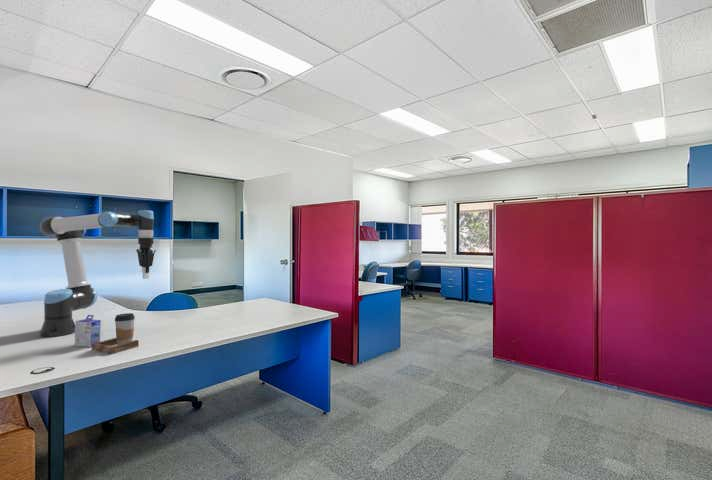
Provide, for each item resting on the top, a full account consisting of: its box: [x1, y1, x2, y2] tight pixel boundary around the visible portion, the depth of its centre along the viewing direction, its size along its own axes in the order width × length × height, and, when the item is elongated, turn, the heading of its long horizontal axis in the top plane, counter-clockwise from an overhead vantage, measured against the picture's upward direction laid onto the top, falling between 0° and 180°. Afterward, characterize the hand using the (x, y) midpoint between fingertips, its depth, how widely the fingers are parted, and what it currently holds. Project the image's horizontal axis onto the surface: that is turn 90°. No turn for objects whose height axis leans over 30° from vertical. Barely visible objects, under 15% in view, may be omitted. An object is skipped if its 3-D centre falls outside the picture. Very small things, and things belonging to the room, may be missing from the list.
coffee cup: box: [114, 312, 136, 345], centre depth 175 cm, size 8×8×15 cm
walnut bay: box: [91, 337, 140, 355], centre depth 170 cm, size 14×13×3 cm
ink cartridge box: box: [74, 314, 102, 348], centre depth 175 cm, size 10×6×14 cm, turn 78°
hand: (145, 278), depth 203 cm, fingers closed
